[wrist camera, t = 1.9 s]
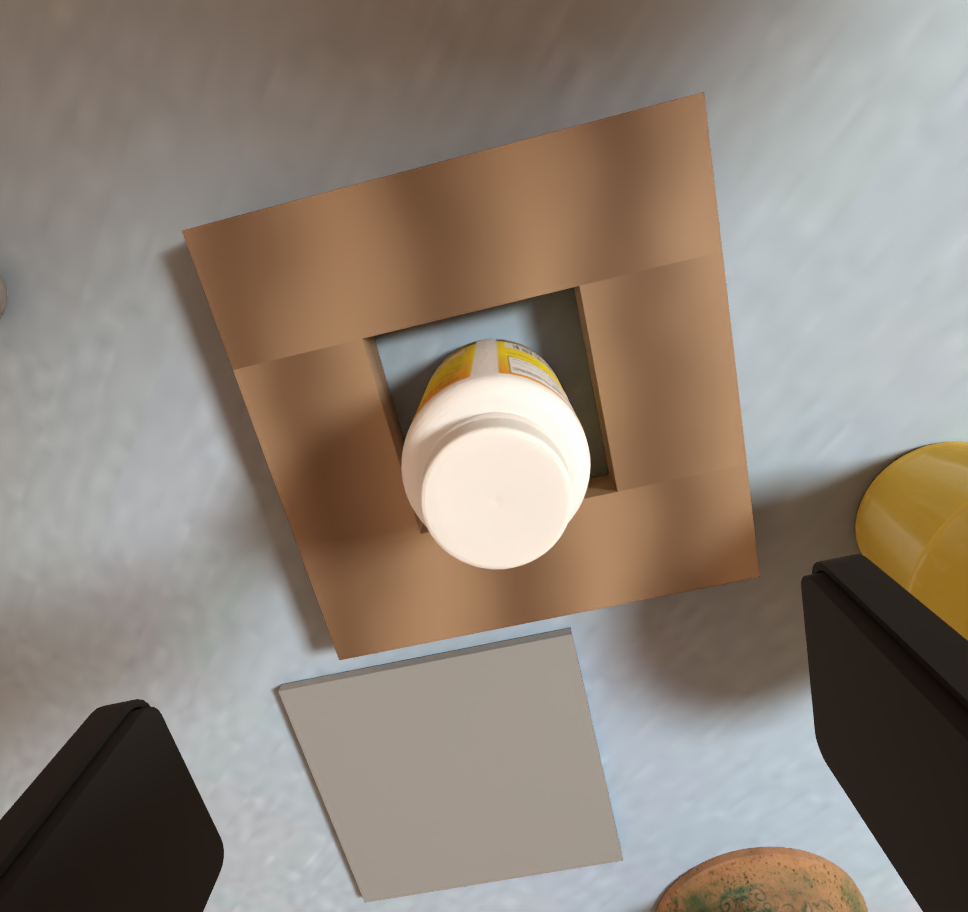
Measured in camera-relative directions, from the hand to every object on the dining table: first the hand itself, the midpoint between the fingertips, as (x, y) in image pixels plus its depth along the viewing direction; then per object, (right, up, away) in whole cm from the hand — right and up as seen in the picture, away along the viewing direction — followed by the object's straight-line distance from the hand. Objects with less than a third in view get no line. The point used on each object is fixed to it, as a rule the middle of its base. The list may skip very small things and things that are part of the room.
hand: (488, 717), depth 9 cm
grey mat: (-1, -12, +23) cm, 26 cm away
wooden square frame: (0, +6, +17) cm, 18 cm away
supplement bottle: (0, +6, +17) cm, 18 cm away
